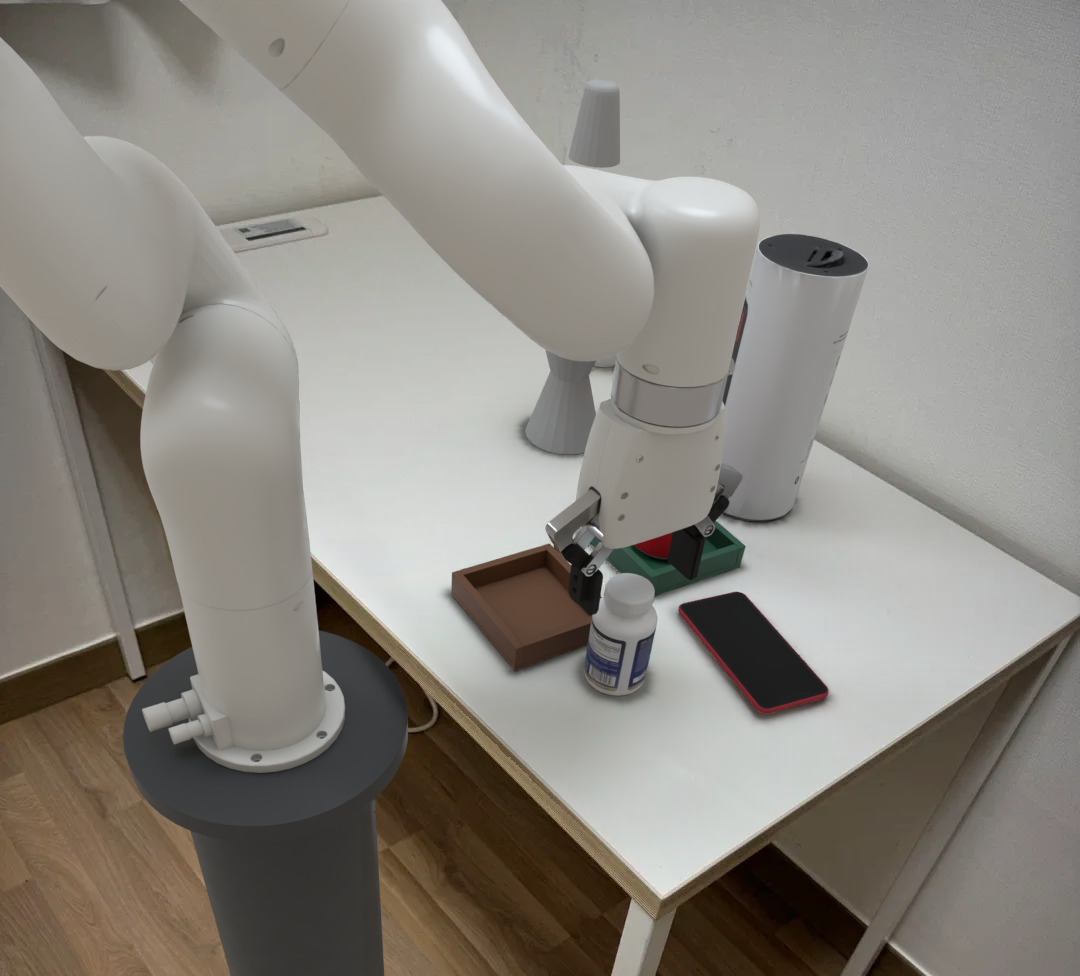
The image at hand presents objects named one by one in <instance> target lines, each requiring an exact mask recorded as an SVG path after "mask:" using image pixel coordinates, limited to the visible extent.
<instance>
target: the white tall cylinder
mask: <svg viewBox="0 0 1080 976" xmlns="http://www.w3.org/2000/svg"><path fill="white" fill-rule="evenodd" d="M869 265H870V264H869V260H868V258H867V257H866V256H864V254H862V253H860V252H859V251H857V250H856V249H854V248H852V247H851V246H849V245H846V244H844V243H842V242H839V241H836V240H835V241H834V240H831V239H829V238H823V237H819V236H813V235H809V234H799V233H783V234H775V235H769V236H766V237H765V238H762V239H761V240H760V241H759V242H757V246H756V250H755V254H754V259H753V263H752V267H751V271H750V276H749V281H748V285H747V290H746V294H745V299H744V303H743V308H742V312H741V317H740V322H739V326H738V331H737V335H736V340H735V344H734V349H733V353H732V358H733V360H734V363H735V370H734V372H733V374H732V375H729V376H728V377H727V382H726V386H725V391H724V395H723V400H722V401H723V403H724V406H725V434H724V446H723V454H722V462H721V463H723V464H726V465H729V466H732V467H733V468H734V469H735V470H737V471H738V472H739V473H741V474H742V476H743V478H742V481H741V482H740V484H739V486H738V487H737V489H736V490H735V492H734V494H733V495H732V497H729V499H728V500H729V506H728V507H727V509H726V510H725V511H724V512H723V513H722V515H724V516H729V517H731V518H734V519H739V520H743V521H748V522H768V521H774V520H777V519H780V518H782V517H784V516H785V515H786V514H788V513H789V512H790V511H791V510H792V509H793V508H794V506H795V504H796V499H797V496H798V492H799V489H800V486H801V482H802V479H803V476H804V474H805V470H806V467H807V465H808V464H807V463H808V459H809V457H810V454H811V450H812V447H813V444H814V440H815V437H816V435H817V431H818V428H819V425H820V421H821V418H822V416H823V413H824V409H825V406H826V403H827V400H828V396H829V393H830V391H831V387H832V384H833V381H834V378H835V376H836V371H837V368H838V365H839V363H840V362H839V361H840V359H841V357H842V356H841V355H842V352H843V349H844V346H845V344H846V339H847V336H848V333H849V330H850V326H851V324H852V320H853V317H854V314H855V311H856V308H857V305H858V302H859V298H860V295H861V292H862V290H863V286H864V282H865V281H866V280H865V279H866V276H867V273H868V270H869V267H870V266H869Z"/></svg>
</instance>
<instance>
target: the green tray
mask: <svg viewBox="0 0 1080 976" xmlns="http://www.w3.org/2000/svg"><path fill="white" fill-rule="evenodd" d="M714 525H715V530H714V532H713V533H712V534H711V535H710V536H708V537H705V544H704V548H703V553H702V557H701V561H700V566H699V570H698V574H697V578H695V579H692V580H689V579H686V578H685V577H684V576H683V575H682V574H681V573H680V572H679V571H678V570H677V569H676V568H674V567H673V566H672V565H671V564H670V563H669V562H668V559H667V560H665V559H656V558H653V557H650V556H648V555H646V554H644V553H643V552H641V551H640V550H639V549H638V548H637V547H636V546H635V545H631V546H628V547H624V548H619V549H614V550H613V551H612V552H611V554H610V555H609V556H608V557H607V559H606V560H607V561H608V562H609V563H610V564H612V566H614V568H616V570H618V571H619V572H620V574H621V573H632V574H637V575H640V576H642V577H644V578H646V579H647V580H649V581H650V582H651V583H652V585H653V586H654V590H655V594H654V597H656V596H659V595H663V594H665V593H668V592H671V591H673V590H676V589H680V588H682V587H686V586H689V585H691V584H694V583H697V582H700V581H703V580H705V579H709V578H713V577H714V576H717V575H721V574H724V573H727V572H729V571H732V570H735V569H738V568H740V567H741V564H742V561H743V558H744V554H745V550H746V547H747V546H746V545H745V544H744V543H743V542H742V541H741V540H740V539H738V538H737V537H736V536H735V535H734V534H732V533H731V532H730V531H729V530H728V529H727V528H725V527H724V526H723V525H722V524H721V523H720V522H718V521H717V520H716V521H715V522H714ZM582 527H583V526H582ZM582 527H581V528H582ZM599 542H600V541H599V540H598V539H597V538H596V537H594V538H593V539H592V541H591V542H590V543H589V544H591V545H592V546H593V547H594V548H595V547H596V546H597V545H598V543H599Z"/></svg>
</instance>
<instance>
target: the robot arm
mask: <svg viewBox="0 0 1080 976" xmlns="http://www.w3.org/2000/svg"><path fill="white" fill-rule="evenodd" d="M178 1H179V2H180V3H181V4H183V5H184V6H185V7H186V8H187V9H188V10H189V11H190V12H192V13H193V14H194V15H195V16H196V17H197V18H198V19H199V20H200V21H202V22H203V23H204V25H206V26H207V27H209V29H211V30H212V31H213V32H214V33H215V34H216V35H217V36H218V37H220V38H221V39H222V40H223V41H224V42H225V43H226V44H227V45H228V46H230V48H232V49H233V50H234V51H235V52H236V53H237V54H239V56H241V57H242V58H243V59H244V60H245V61H246V62H247V63H249V64H250V65H251V66H252V67H253V68H254V69H255V70H256V71H257V72H259V73H260V74H261V75H262V76H263V77H264V78H265V79H266V80H268V81H269V83H271V85H273V86H274V87H275V88H276V89H278V91H280V92H281V93H282V95H284V96H285V97H286V98H288V99H289V100H290V101H291V102H292V103H293V104H294V105H295V106H296V107H297V108H298V109H300V110H301V111H302V112H303V114H305V115H306V116H307V117H309V119H311V120H312V121H313V122H314V123H315V125H317V126H318V127H319V128H321V130H322V131H324V132H325V133H326V134H327V135H328V136H329V138H331V139H332V140H333V142H335V143H336V145H337V146H338V147H339V148H340V149H341V151H343V153H344V154H345V156H346V157H347V158H348V159H349V160H350V162H351V163H352V164H353V165H354V166H355V168H356V169H357V170H358V172H360V174H361V175H363V177H364V178H365V179H366V181H368V182H369V184H371V185H372V186H373V187H374V188H375V189H376V190H377V191H378V193H380V194H381V195H382V196H383V197H384V198H385V199H386V201H388V202H389V203H390V205H392V207H394V209H395V210H396V211H397V212H398V213H399V214H400V215H401V216H402V217H403V218H404V220H405V221H406V222H407V223H408V224H409V225H410V226H411V227H412V228H413V230H414V231H416V233H417V234H418V235H419V236H420V237H421V238H422V239H423V240H424V241H425V242H426V244H427V245H428V246H429V247H430V248H431V249H432V250H433V251H434V252H435V253H436V254H437V256H439V258H441V259H442V260H443V261H444V262H445V263H446V265H448V267H449V268H450V269H451V270H452V271H453V272H455V274H457V275H458V276H459V278H461V279H462V281H464V282H465V283H466V284H467V285H468V286H469V287H470V288H471V289H472V290H473V291H475V292H476V293H477V294H478V295H479V296H480V297H481V298H482V299H483V300H485V302H487V303H488V304H489V305H491V306H492V307H493V308H494V309H495V310H496V311H498V312H499V314H500V315H502V316H503V317H504V318H506V320H508V321H509V322H510V323H511V324H512V325H514V326H515V328H516V329H518V330H519V331H520V332H522V334H524V335H525V336H526V337H528V338H529V339H530V340H531V341H533V342H534V343H535V344H536V345H538V346H539V347H541V348H542V349H544V350H545V351H546V350H547V351H549V352H551V353H553V354H555V355H557V356H560V357H562V358H566V359H570V360H573V361H585V362H589V361H597V360H602V359H605V358H608V357H611V356H613V355H615V354H616V361H615V365H614V369H613V379H612V383H611V384H612V385H611V392H610V398H608V399H607V400H604V401H602V402H600V404H599V407H598V409H597V411H596V416H595V419H594V422H593V425H592V428H591V431H590V434H589V437H588V441H587V445H586V448H585V453H583V458H582V462H581V467H580V472H579V477H578V482H577V488H576V493H575V494H576V495H575V500H574V502H572V503H571V504H570V505H568V506H567V507H566V508H564V509H563V510H562V511H560V513H558V514H557V515H555V516H554V517H553V518H552V519H551V520H549V521H548V522H547V523H546V525H545V528H544V530H545V532H546V534H547V536H548V538H549V540H550V542H551V543H552V546H553V547H554V548H555V549H556V550H557V551H558V552H559V553H560V554H561V555H562V557H563V558H564V559H565V560H566V561H567V562H568V563H569V564H570V565H571V570H570V579H569V588H568V591H569V595H570V597H571V598H572V600H573V601H574V602H575V603H578V604H579V605H580V607H581V608H582V609H583V610H584V611H585V612H586V613H587V614H588V615H589V616H591V615H594V614H597V611H598V610H599V603H600V596H601V597H602V588H603V581H604V574H603V572H602V570H600V568H601V567H602V565H603V564H604V562H605V561H606V560H608V559H607V557H608V556H609V555H610V554H611V552H612V551H613V550H614V549H619V548H624V547H628V546H631V545H635V544H638V543H641V542H644V541H647V540H651V539H654V538H657V537H660V536H663V535H666V534H669V533H672V532H673V533H672V538H671V543H670V548H669V553H668V562H669V563H670V564H671V565H672V566H673V567H674V568H676V569H677V570H678V571H679V572H680V573H681V574H682V575H683V576H684V577H685V578H686V579H689V580H692V579H695V578H697V574H698V570H699V566H700V561H701V557H702V553H703V548H704V544H705V537H708V536H710V535H711V534H712V533H713V532H714V530H715V525H714V522H715V521H717V520H718V519H719V518H720V517H721V516H722V515H723V512H724V511H725V510H726V509H727V507H728V506H729V500H728V499H729V497H732V495H733V494H734V492H735V490H736V489H737V487H738V486H739V484H740V482H741V481H742V478H743V476H742V474H741V473H739V472H738V471H737V470H735V469H734V468H733V467H732V466H729V465H726V464H723V463H721V462H722V454H723V446H724V434H725V406H724V403H723V401H722V400H723V395H724V391H725V386H726V382H727V377H728V376H729V375H732V374H733V372H734V370H735V363H734V360H733V358H732V353H733V349H734V344H735V340H736V335H737V331H738V326H739V322H740V318H741V314H742V309H743V305H744V301H745V296H746V293H747V289H748V284H749V280H750V276H751V272H752V268H753V263H754V259H755V254H756V250H757V245H758V240H759V239H758V238H759V234H760V233H759V232H760V227H761V215H760V210H759V207H758V205H757V203H756V200H755V199H754V198H753V197H752V196H751V195H750V194H749V193H748V192H747V191H745V190H744V189H742V188H740V187H738V186H736V185H733V184H731V183H729V182H726V181H723V180H719V179H715V178H709V177H703V176H675V177H669V178H664V179H660V180H654V179H646V178H639V177H634V176H630V175H629V176H628V175H624V174H618V173H614V172H609V171H604V170H600V169H596V168H592V167H586V166H581V165H580V166H578V165H570V164H562V163H561V162H560V161H559V159H558V158H557V157H556V156H555V155H554V154H553V152H552V151H551V150H550V149H549V148H548V147H547V146H546V144H545V143H544V142H543V141H542V140H541V139H540V138H539V137H538V135H537V134H536V133H535V132H534V131H533V130H532V128H531V127H530V125H529V124H528V123H527V122H526V121H525V119H524V118H523V117H522V116H521V114H519V112H518V111H517V110H516V108H515V107H514V106H513V104H512V103H511V102H510V100H509V99H508V97H507V96H506V95H505V94H504V92H503V90H501V88H500V87H499V85H498V84H497V83H496V80H494V78H493V77H492V75H491V73H490V72H489V70H488V69H487V68H486V66H485V65H484V63H483V61H482V60H481V58H480V57H479V55H478V53H477V52H476V50H475V48H474V46H473V45H472V43H471V41H470V40H469V38H468V36H467V34H466V33H465V31H464V30H463V28H462V27H461V25H460V23H459V22H458V21H457V19H456V18H455V16H454V15H453V13H452V12H451V11H450V10H449V8H448V7H447V6H446V4H445V3H444V2H443V1H442V0H178ZM0 288H1V289H2V290H3V291H4V293H6V295H7V296H8V297H9V298H10V299H11V300H12V301H13V303H14V304H15V305H16V307H18V308H19V309H20V310H21V311H22V312H23V313H24V314H25V316H26V317H27V318H28V319H29V320H30V321H31V322H32V324H34V325H35V326H36V328H37V329H39V331H40V332H41V333H43V335H44V336H45V337H46V338H47V339H48V340H49V341H50V342H51V343H53V345H55V346H56V347H57V348H59V350H61V351H63V352H64V353H66V354H67V355H69V356H70V357H71V358H73V359H74V360H76V361H78V362H80V363H83V364H86V365H88V366H89V367H93V368H95V369H100V370H107V371H112V372H113V371H125V370H126V371H127V370H131V369H135V368H137V367H141V366H142V365H145V364H146V363H148V362H150V363H151V364H152V368H151V371H150V374H149V378H148V382H147V387H146V391H145V394H144V395H145V396H144V400H143V406H142V412H141V420H140V433H139V435H140V436H139V442H140V447H139V448H140V457H141V462H142V468H143V473H144V475H145V479H146V482H147V485H148V488H149V492H150V493H151V497H152V499H153V502H154V504H155V507H156V510H157V512H158V515H159V517H160V520H161V523H162V527H163V531H164V533H165V536H166V537H165V538H166V541H167V544H168V549H169V553H170V557H171V561H172V566H173V571H174V575H175V578H176V579H175V580H176V582H177V585H178V589H179V594H180V598H181V603H182V607H183V611H184V616H185V620H186V624H187V630H188V635H189V640H190V643H191V647H192V648H193V652H194V656H195V661H196V665H197V670H198V674H197V675H194V676H191V677H190V680H191V685H192V689H193V690H189V691H186V692H183V693H181V697H182V698H180V699H177V700H174V701H171V702H168V703H165V702H163V703H160V704H157V705H153V706H150V707H147V708H144V709H142V712H143V715H144V718H145V721H146V724H147V726H148V728H149V730H150V732H152V731H155V730H158V729H161V728H164V727H167V726H170V725H173V723H175V722H178V721H181V720H184V719H187V718H189V723H186V724H185V723H183V724H180V725H177V726H174V727H171V728H168V730H169V733H170V736H171V739H172V741H173V743H174V744H177V743H180V742H183V741H186V740H189V739H190V738H193V739H194V741H195V743H196V745H197V746H198V748H199V749H200V750H201V751H202V752H203V753H204V754H205V755H206V756H207V757H208V758H210V759H212V760H213V761H215V762H216V763H218V764H220V765H223V766H225V767H228V768H230V769H234V770H239V771H243V772H254V773H266V772H277V771H282V770H286V769H291V768H294V767H296V766H299V765H302V764H305V763H307V762H308V761H310V760H312V759H314V758H316V757H318V756H319V755H320V754H321V753H323V752H324V751H325V750H327V749H328V748H329V747H330V746H331V745H332V743H333V742H334V741H335V740H336V739H337V737H338V735H339V734H340V732H341V730H342V728H343V724H344V721H345V703H344V696H343V694H342V691H341V689H340V687H339V686H338V684H337V683H336V682H335V680H334V679H333V678H332V677H331V676H329V675H328V674H327V673H326V672H324V671H323V670H322V661H321V651H320V641H319V631H320V630H319V621H318V613H317V603H316V593H315V583H314V582H315V581H314V574H313V573H314V571H313V563H312V561H313V560H312V554H311V553H312V552H311V543H310V535H309V527H308V516H307V509H306V508H307V507H306V500H305V499H306V498H305V490H304V482H303V481H304V479H303V464H302V463H303V461H302V446H301V402H300V371H299V361H298V354H297V350H296V348H295V347H296V346H295V344H294V341H293V339H292V337H291V334H290V333H289V331H288V328H287V327H286V325H285V323H284V322H283V320H282V318H281V317H280V316H279V314H278V312H277V311H276V310H275V308H274V306H273V305H272V303H271V302H270V301H269V299H268V298H267V296H266V295H265V294H264V292H263V291H262V289H261V287H260V286H259V285H258V284H257V282H256V281H255V279H254V278H253V277H252V275H251V274H250V272H249V271H248V270H247V268H246V267H245V265H244V264H243V263H242V261H241V260H240V258H239V256H238V255H237V254H236V253H235V251H234V250H233V248H232V247H231V246H230V244H229V243H228V241H227V240H226V239H225V238H224V236H223V234H222V233H221V232H220V230H219V229H218V227H217V226H216V225H215V223H214V222H213V221H212V219H211V217H210V216H209V215H208V214H207V212H206V211H205V210H204V208H203V206H202V205H201V204H200V202H199V201H198V200H197V198H196V197H195V196H194V194H193V193H192V192H191V191H190V189H189V188H188V187H187V186H186V184H185V183H184V182H183V181H182V180H181V179H180V178H179V177H178V176H177V174H175V173H174V171H172V170H171V169H170V168H169V167H168V166H167V165H166V164H164V162H162V161H161V160H160V159H159V158H157V157H156V156H155V155H154V154H152V153H150V152H148V151H147V150H145V149H143V148H142V147H140V146H138V145H136V144H134V143H132V142H129V141H126V140H124V139H120V138H117V137H116V138H115V137H112V136H105V135H87V136H83V135H82V134H81V133H80V132H79V130H78V129H77V128H76V127H75V125H74V124H73V123H72V122H71V121H70V119H69V117H67V116H66V114H65V113H64V111H63V110H62V109H61V107H60V106H59V104H58V103H57V101H56V100H55V99H54V97H53V95H52V94H51V92H50V91H49V89H48V88H47V87H46V86H45V84H44V83H43V81H42V80H41V79H40V77H38V75H37V74H36V73H35V72H34V71H33V69H32V68H31V67H30V65H29V64H28V63H27V62H26V61H25V60H24V59H23V58H22V57H21V56H20V55H19V54H18V53H17V52H16V51H15V50H14V49H13V47H11V46H10V45H9V44H8V43H7V42H6V41H5V40H4V39H3V38H2V37H1V36H0ZM582 526H583V527H582ZM578 530H579V531H578ZM577 531H578V532H577ZM576 532H577V533H576ZM575 533H576V534H575ZM574 534H575V536H574ZM594 537H596V538H597V539H598V540H599V541H600V542H599V543H598V545H597V546H596V547H594V548H593V550H592V551H591V552H590V554H589V553H588V552H587V551H586V548H588V546H589V545H590V544H591V543H590V542H591V541H592V539H593V538H594ZM318 630H319V631H318Z"/></svg>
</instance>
